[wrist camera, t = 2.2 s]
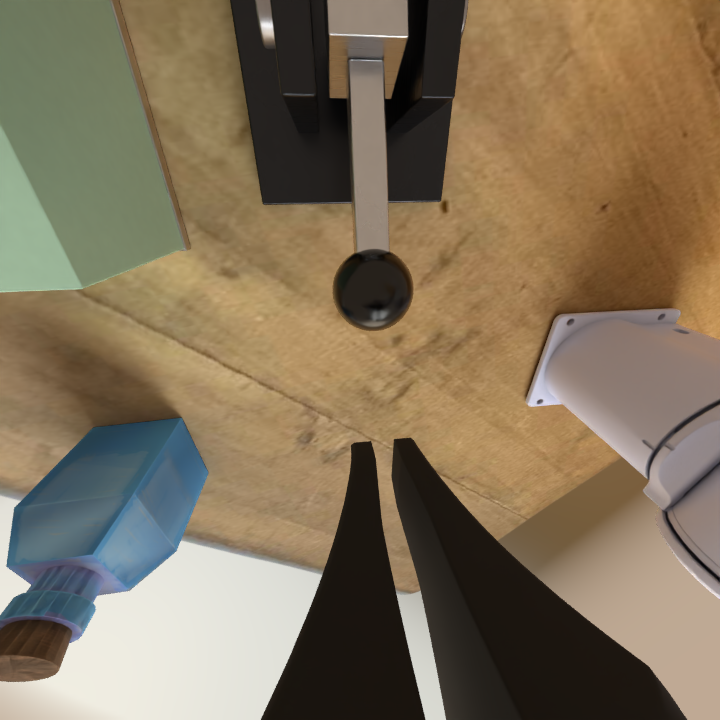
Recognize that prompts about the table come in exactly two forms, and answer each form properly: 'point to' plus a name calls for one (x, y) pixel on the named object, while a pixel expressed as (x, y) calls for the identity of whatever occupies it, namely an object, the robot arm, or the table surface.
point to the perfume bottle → (94, 535)
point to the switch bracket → (343, 102)
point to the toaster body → (77, 150)
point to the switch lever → (368, 154)
